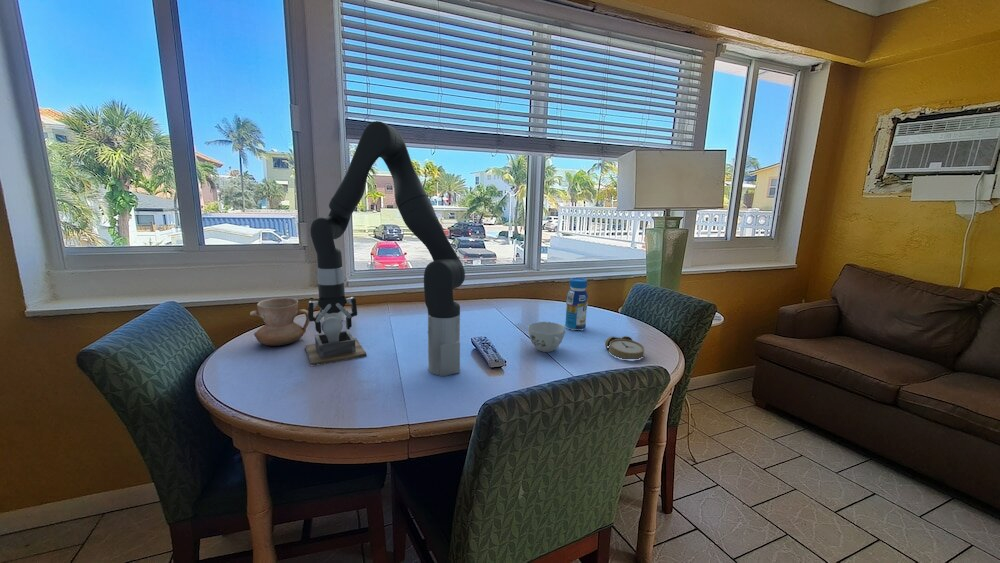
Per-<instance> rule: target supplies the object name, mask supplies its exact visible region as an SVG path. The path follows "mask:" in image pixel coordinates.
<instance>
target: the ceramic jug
mask: <svg viewBox="0 0 1000 563" xmlns="http://www.w3.org/2000/svg"><path fill="white" fill-rule="evenodd" d="M256 305H257V306H256V307H257V310H252V311H250V313H249V315H250V316H251V317H253V316H257V317H260V318H261V319H262V321H263V322H264V323H265V324H264V325H262V326H261V327H260V328H259V329H258V330H257V331H255V332H254V333H253V335H254V337H255V339H256V341H257V342H259V344H262V345H265V346H270V347H271V346H272V347H273V346H274V347H275V346H276V347H277V346H286V345H289V344H292V343H294V342H296V341H297V342H298V340H300V339H301V338H302V337H303V336H304V335H305V333H306V331H307V328H308V326H309V324H310V322H311V321H309V318H308V310H307V309H303V308H301V309H298V308H299V300H298V299H297V298H293V297H274V298H269V299H264V300H263V299H262V300H261V301H259V302H258V303H257V304H256ZM299 314H304V315H305V323H304V325H303V326H302V325H300V323H298V322H295V318H296V317H297V316H298V315H299Z"/></svg>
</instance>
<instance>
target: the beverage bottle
mask: <svg viewBox="0 0 1000 563" xmlns="http://www.w3.org/2000/svg"><path fill="white" fill-rule="evenodd" d="M569 288H570V289H569V290H568V292H567V294H566V297H567V298H566V301H565V303H566V308H565V309H566V310H565V324H564V327H565V329H567V328H568V329H567V330H569V329H571V330H570V331H574V330H581V331H583V330H582V329H584V330H585V329H586V327H587V326H586V324H587V313H588V312H587V309H588V305H589V301H588V298H589V295H588V292H587V290H586V289H587V288H588V279H586V278H582V277H571V278H569Z"/></svg>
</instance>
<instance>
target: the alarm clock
mask: <svg viewBox="0 0 1000 563" xmlns="http://www.w3.org/2000/svg"><path fill="white" fill-rule="evenodd" d="M609 345H610V346H609ZM604 346H605V349H607V346H609V349H608V353H609V352H610V353H611V354H612V355H614V356H616V357H619V358H622V359H639V358H641V357H643V359H645V358H646V356H645V355H644V353H645V347H644V345H643V344H642V343H640V342H637V341H635V340H633V339H632V338H631V337H630V336H627V335H626V336H622V337H617V336H609V337H608V338H606V339H605V343H604Z"/></svg>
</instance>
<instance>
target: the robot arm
mask: <svg viewBox="0 0 1000 563" xmlns="http://www.w3.org/2000/svg"><path fill="white" fill-rule="evenodd" d="M379 158H381V159H382V160H383V162H384V163H385V165H386V167H387V169H388V170H389V173H390V175H391V177H392V181H393V191H394V194H393V195H394V201H395V204H396V207H397V209H398V212H399V214H400V216H401V218H402V220H403V222H404V224H405V226H406V227H407V228H408V230H409V231H410V232H411V233H412V234H413V235H414V236H415V237H416V238H417V239H418V240H420V242H422V244H423V245H424V246H425V248H426V250H428V251H429V254H430V256H431V258H432V261H431V262H429V263H428V264H427V265H426V266H425V268H424V271H423V290H424V291H423V292H424V303H425V305H426V308H427V346H428V347H427V348H428V349H427V354H428V356H427V358H428V372H429V373H431V374H433V375H435V376H436V375H437V376H439V377H445V376H450V375H454V374H459V373H460V372H461V341H460V339H461V338H460V337H461V333H460V332H461V306H460V303H458V302H457V301H454V293H453V292H454V289H457V288H459V287H460V286H462V285H463V283H464V281H465V278H466V272H465V268H464V266H463V263H462V261H461V259H460V257H459V256H458V254H457V252H456V251H455V250H454V247H453V245H452V244H451V243H450V241H449V239H448V237H447V235H446V233H445V231H444V228H443V226H442V224H441V222H440V220H439V218H438V216H437V214H436V212H435V209H434V207H433V205H432V202H431V200H430V198H429V196H428V194H427V192H426V190H425V188H424V185H423V183H422V182H421V179H420V178H419V175H418V173H417V172H416V170H415V168H414V165H413V163H412V160H411V157H410V154H409V151H408V148H407V144H406V142H405V140H404V137H403V135H402V134H401V132H400V131H399V130H398V129H396V127H393V126H391V125H389V124H388V123H385V122H383V121H379V120H376V121H371V122H370V123H369V124H367V125H366V127H365V128H364V130H363V132H362V134H361V136H360V137H359V141H358V143H357V146H356V148H355V151H354V154H353V156H352V158H351V161H350V163H349V165H348V168H347V170H346V172H345V175H344V177H343V179H342V180H341V182H340V184H339V185H338V187H337V188H336V191H335V192H334V194H333V195H332V197H331V198H330V201H329V203H328V207H329V209H330V211H329V213H328V215H327V216H322V217H320V216H319V217H317V218H315V219H314V220H313V221H311V224H310V229H309V231H310V233H309V234H310V237H311V240H312V243H313V247H314V249H315V252H316V258H317V259H316V260H317V279H316V280H317V288H318V300H317V301H312V300H309V301H308V302H307V309H308V310H307V311H308V318H309V321H310V322H314V323H315V331H316V332H317V333H318V335H319V334H322V324H321V321H322V319H323V318H324V315H325V314H326V313H328V314H331V313H339V312H340V311H342V312H343V313H344V316H345V327H346V331H348V330H349V331H350V330H351V328H352V323H353V322H352V319H353V317H356V316H358V309H357V308H358V307H357V306H358V305H357V300H356V298H355V297H354V296H351V297H348V298H346V290H345V275H344V268H343V258H342V257H343V256H342V251H341V250H340V249H339V248H338V247H336V244H335V240H337V239H338V238H341V237H342V236H343V235H344V233H345V232H346V230H347V228H348V225H349V223H350V220H351V216H352V214H353V213H354V211H355V210H356V209H357V207H358V205H359V203H360V201H362V198H363V196H364V195H365V194H364V193H365V189H366V185H367V179H368V176H369V174H370V170H371V169H372V167H373V165H374V164H375V163H376V161H377V160H378V159H379ZM347 303H348V304H349V305H350V307H351V311H350V312H349V311H348V310H347V309H346V308H345V306H346V304H347ZM317 306H318V307H320V309H319V311H318V313H317V314H316V315H315V316H314V310H315V309H316V308H317Z"/></svg>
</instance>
